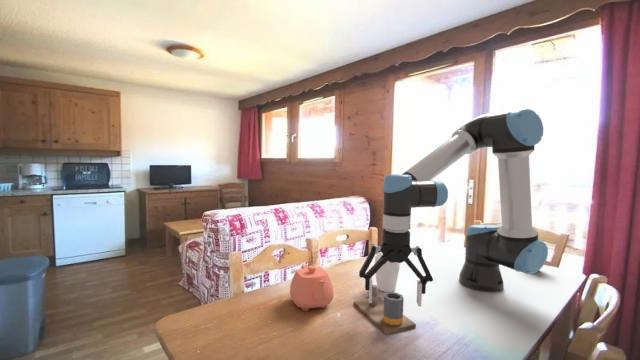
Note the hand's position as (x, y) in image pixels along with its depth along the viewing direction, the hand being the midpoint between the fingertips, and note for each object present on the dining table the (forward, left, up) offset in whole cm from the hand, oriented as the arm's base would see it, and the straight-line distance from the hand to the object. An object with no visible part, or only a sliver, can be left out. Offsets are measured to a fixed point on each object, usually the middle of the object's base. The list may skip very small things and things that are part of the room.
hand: (394, 302), depth 85 cm
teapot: (+25, -7, -6) cm, 27 cm away
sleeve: (0, 0, -5) cm, 5 cm away
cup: (0, -24, -6) cm, 25 cm away
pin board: (+3, -4, -6) cm, 8 cm away
